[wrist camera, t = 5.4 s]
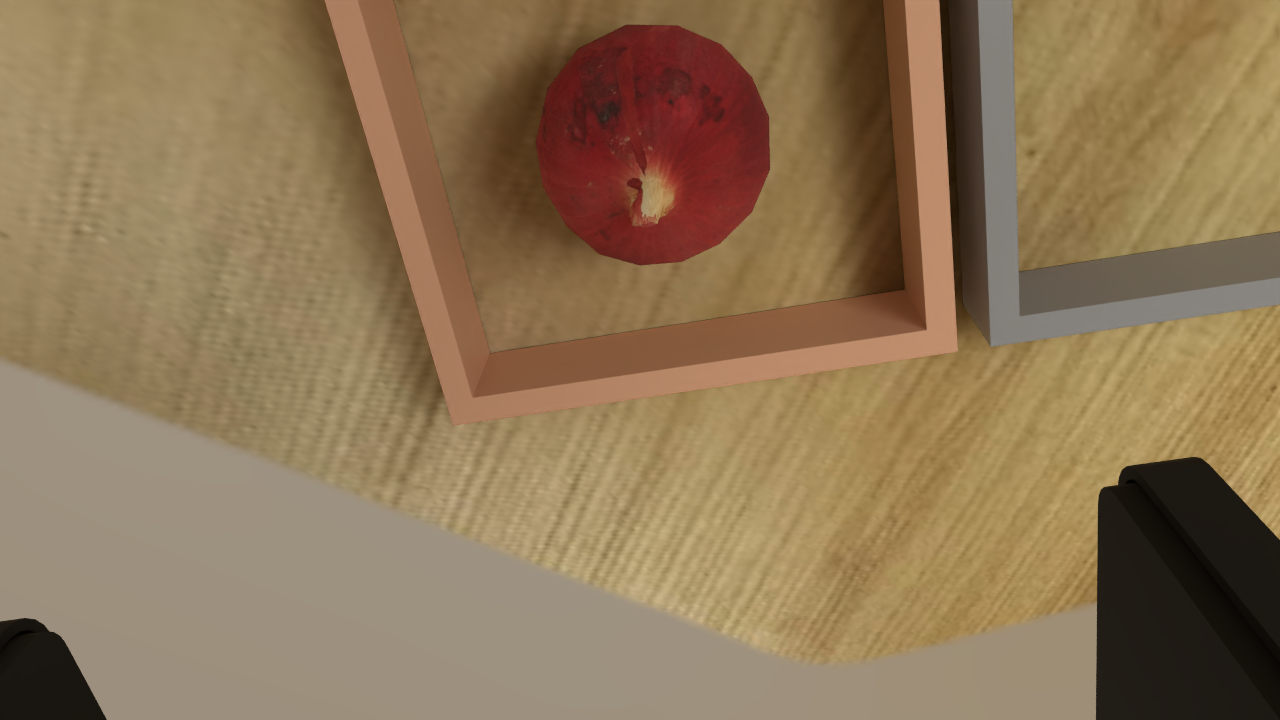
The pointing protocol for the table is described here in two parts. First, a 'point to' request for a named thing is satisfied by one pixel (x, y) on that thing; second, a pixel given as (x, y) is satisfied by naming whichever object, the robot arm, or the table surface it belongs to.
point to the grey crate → (1079, 290)
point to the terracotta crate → (670, 352)
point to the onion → (653, 144)
